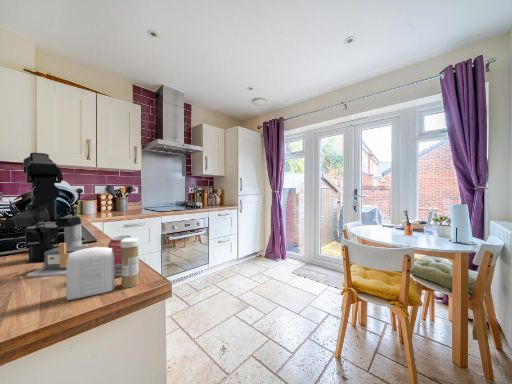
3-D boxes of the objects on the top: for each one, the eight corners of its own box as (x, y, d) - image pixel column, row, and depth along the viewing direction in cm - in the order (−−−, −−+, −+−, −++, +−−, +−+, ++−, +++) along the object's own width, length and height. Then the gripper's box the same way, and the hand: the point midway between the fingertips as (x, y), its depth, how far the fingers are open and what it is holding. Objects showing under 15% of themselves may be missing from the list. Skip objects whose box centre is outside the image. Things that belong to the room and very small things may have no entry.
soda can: (130, 267, 76) (130, 234, 75) (136, 273, 71) (136, 237, 70) (106, 273, 71) (105, 237, 70) (111, 280, 66) (110, 241, 65)
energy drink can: (77, 246, 103) (76, 215, 102) (84, 248, 100) (84, 216, 100) (61, 249, 97) (61, 217, 97) (69, 251, 95) (68, 217, 94)
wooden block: (59, 268, 71) (58, 243, 71) (61, 267, 72) (60, 243, 72) (75, 267, 72) (75, 243, 72) (77, 266, 73) (77, 242, 72)
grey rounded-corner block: (114, 285, 62) (114, 243, 62) (114, 291, 58) (114, 246, 58) (68, 295, 56) (67, 249, 56) (64, 302, 53) (63, 253, 53)
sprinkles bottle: (118, 285, 62) (118, 239, 62) (135, 280, 66) (135, 236, 65) (124, 290, 59) (123, 242, 59) (141, 284, 63) (141, 239, 63)
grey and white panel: (26, 276, 68) (26, 255, 68) (58, 262, 81) (57, 244, 81) (89, 273, 70) (88, 253, 70) (110, 260, 83) (109, 243, 83)
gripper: (-17, 202, 61) (-16, 257, 61) (57, 202, 64) (58, 254, 64) (20, 200, 72) (21, 246, 72) (81, 200, 75) (82, 244, 75)
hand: (45, 247), depth 70 cm, fingers closed
